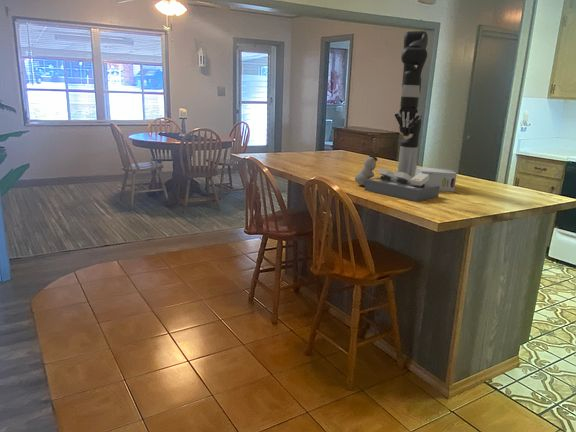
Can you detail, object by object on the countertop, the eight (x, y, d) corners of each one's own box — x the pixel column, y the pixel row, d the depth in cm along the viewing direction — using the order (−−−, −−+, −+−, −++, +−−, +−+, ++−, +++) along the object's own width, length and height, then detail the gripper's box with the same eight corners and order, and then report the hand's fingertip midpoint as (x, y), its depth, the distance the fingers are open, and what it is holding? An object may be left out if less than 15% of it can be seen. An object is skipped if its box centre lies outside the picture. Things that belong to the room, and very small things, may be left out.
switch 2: (401, 179, 214) (402, 174, 214) (410, 181, 210) (411, 176, 210) (393, 175, 209) (394, 170, 209) (402, 177, 205) (404, 172, 205)
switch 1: (385, 176, 220) (386, 171, 220) (393, 178, 216) (395, 173, 216) (377, 172, 215) (378, 167, 215) (386, 174, 212) (387, 169, 211)
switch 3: (419, 177, 207) (419, 172, 206) (429, 179, 204) (429, 174, 203) (410, 184, 204) (410, 179, 202) (420, 186, 200) (420, 181, 199)
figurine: (374, 187, 221) (377, 157, 217) (353, 186, 223) (356, 155, 219) (375, 184, 229) (377, 154, 225) (354, 183, 231) (357, 153, 227)
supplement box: (419, 189, 222) (421, 170, 219) (414, 184, 234) (416, 166, 232) (454, 191, 221) (457, 172, 218) (447, 186, 233) (450, 168, 231)
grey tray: (387, 185, 227) (388, 173, 226) (438, 196, 208) (440, 182, 206) (364, 190, 215) (365, 176, 214) (416, 201, 196) (418, 187, 194)
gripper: (428, 96, 198) (423, 137, 203) (401, 95, 207) (398, 134, 212) (418, 96, 193) (414, 137, 198) (392, 95, 202) (388, 134, 207)
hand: (405, 135), depth 205 cm, fingers closed
